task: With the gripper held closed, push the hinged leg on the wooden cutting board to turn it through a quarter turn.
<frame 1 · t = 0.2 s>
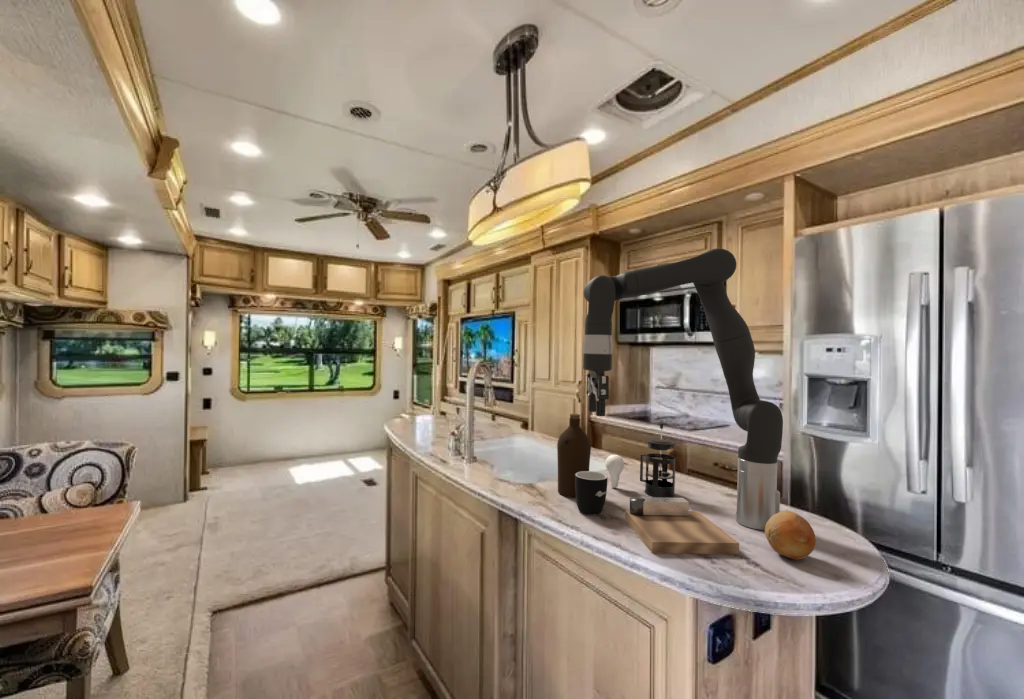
hand: (596, 413, 116), 28 cm above the counter, fingers open, 8 cm apart
hinged leg: (657, 506, 117), point 5 cm above the counter, hinge at 0.0°
wooden cutting board: (676, 535, 109), on the counter
onion: (788, 557, 99), on the counter
french press: (658, 494, 142), on the counter
olive oil: (572, 493, 140), on the counter
mug: (593, 510, 125), on the counter
lightbulb: (614, 488, 147), on the counter
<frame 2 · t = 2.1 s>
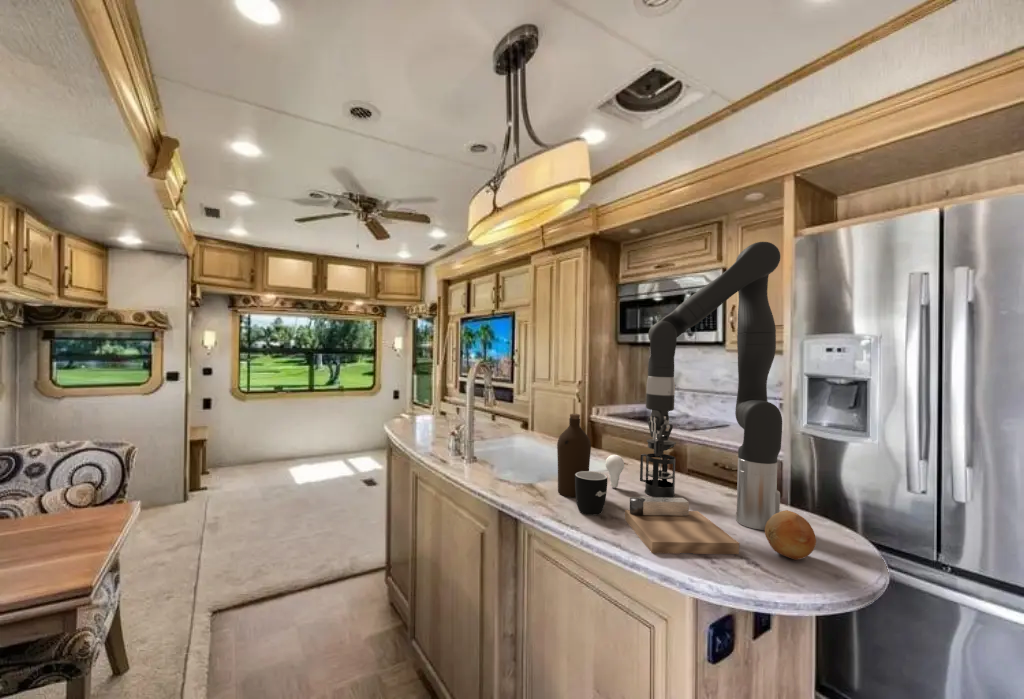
hand: (658, 454, 124), 17 cm above the counter, fingers closed
nothing on the counter moved.
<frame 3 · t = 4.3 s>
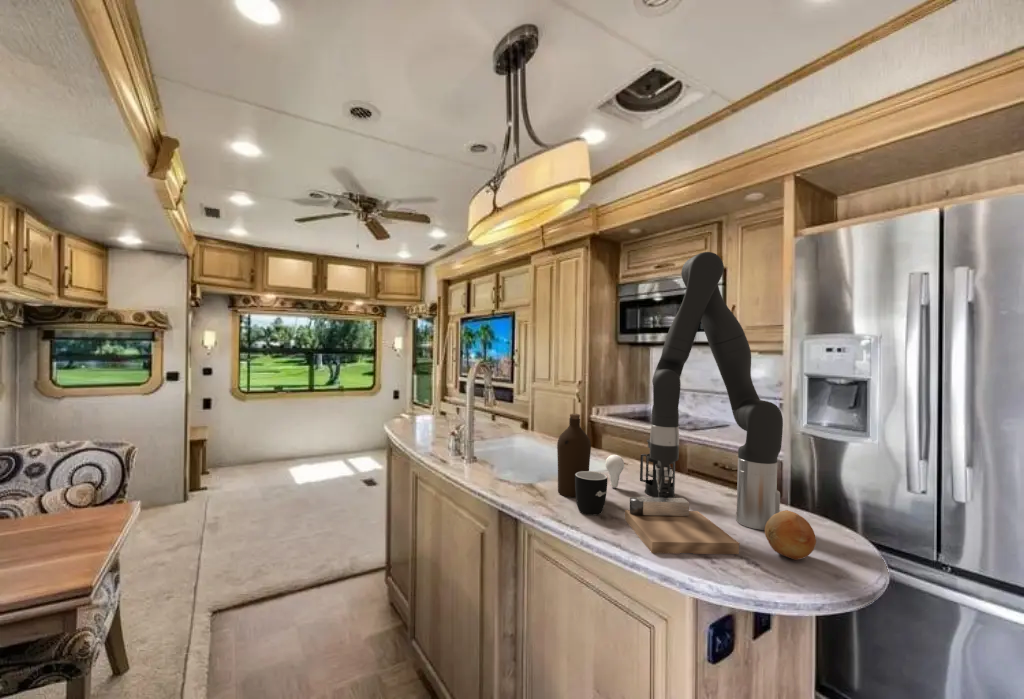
hand: (662, 505, 121), 4 cm above the counter, fingers closed
hinged leg: (658, 506, 116), point 5 cm above the counter, hinge at 1.0°, touching gripper
everything else where it was.
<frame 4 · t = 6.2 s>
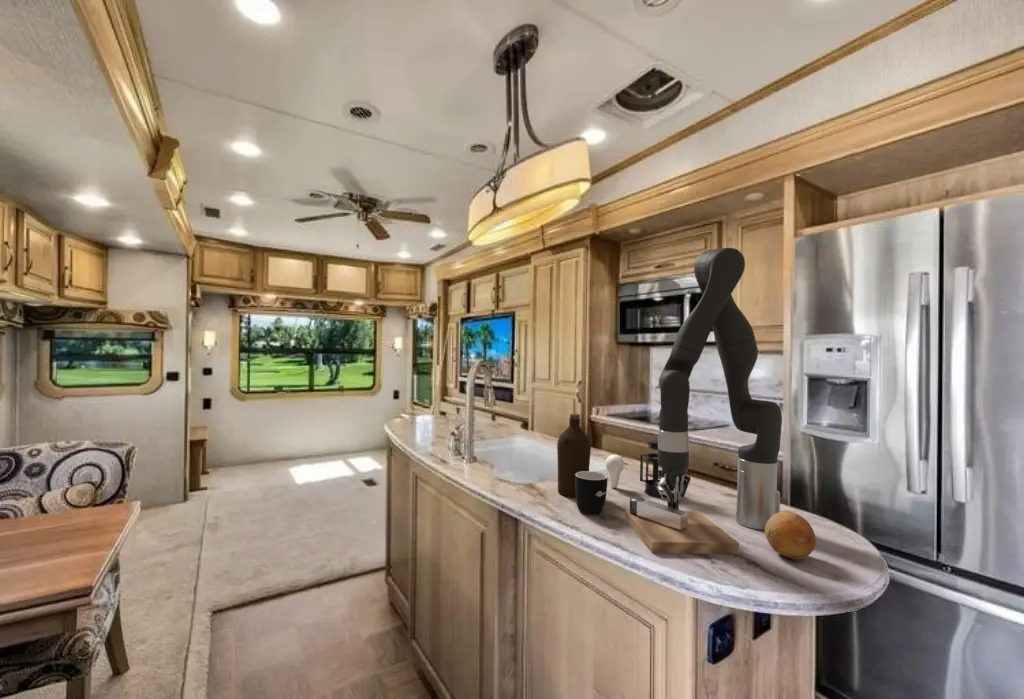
hand: (673, 515, 113), 4 cm above the counter, fingers closed
hinged leg: (656, 511, 112), point 5 cm above the counter, hinge at 52.0°, touching gripper
everything else where it was.
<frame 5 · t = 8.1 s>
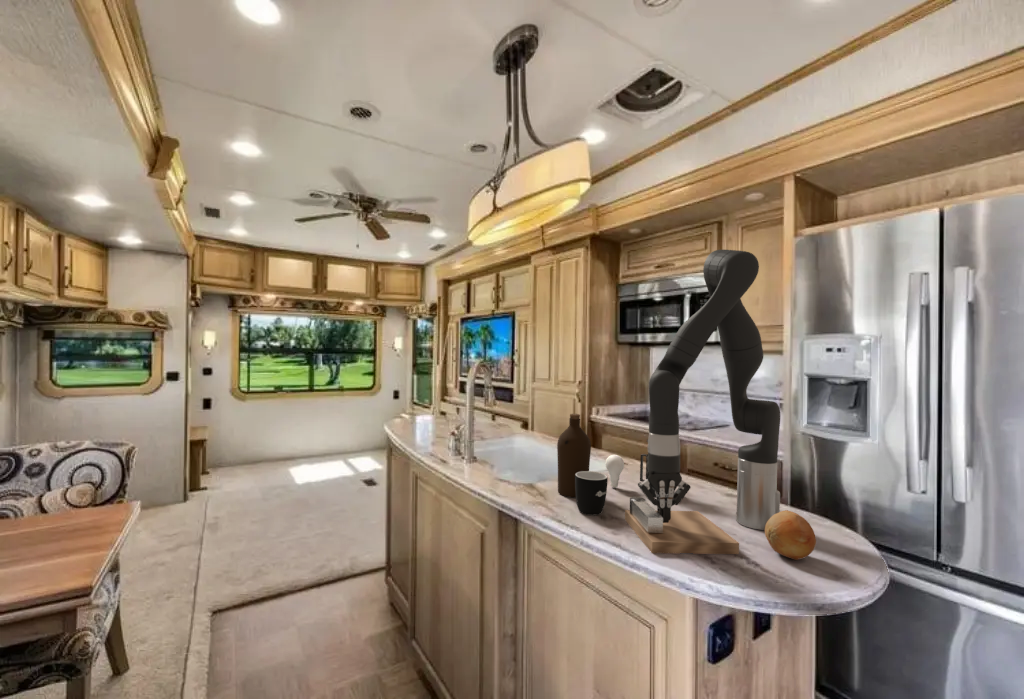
hand: (664, 521, 109), 3 cm above the counter, fingers closed
hinged leg: (644, 513, 111), point 5 cm above the counter, hinge at 90.4°, touching gripper
everything else where it was.
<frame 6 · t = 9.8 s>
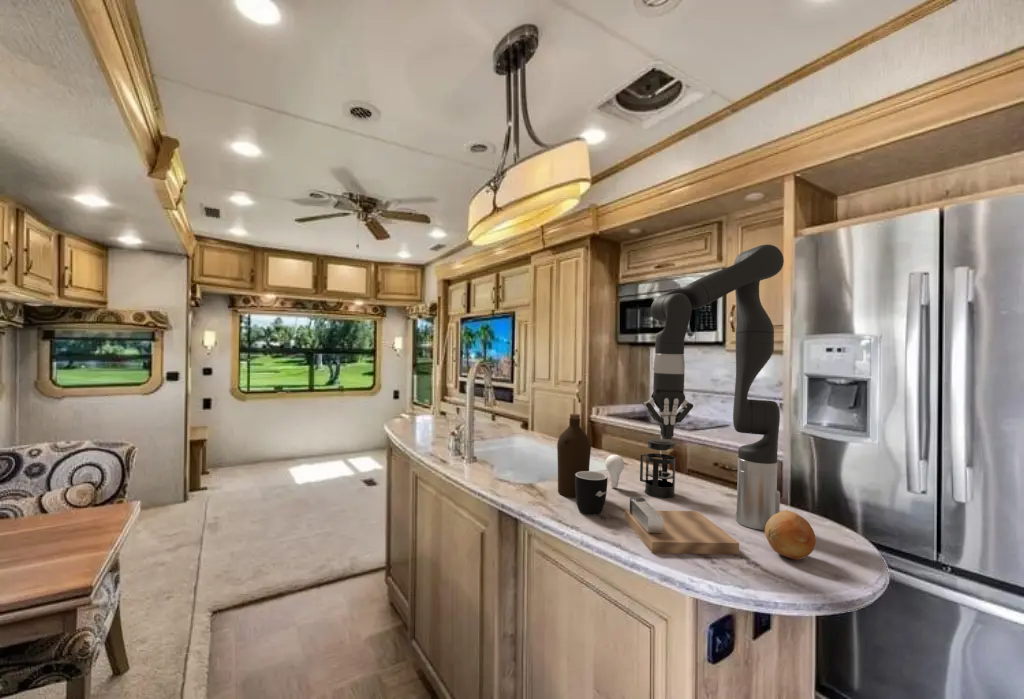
hand: (667, 438, 114), 23 cm above the counter, fingers closed
hinged leg: (644, 513, 111), point 5 cm above the counter, hinge at 90.4°
everything else where it was.
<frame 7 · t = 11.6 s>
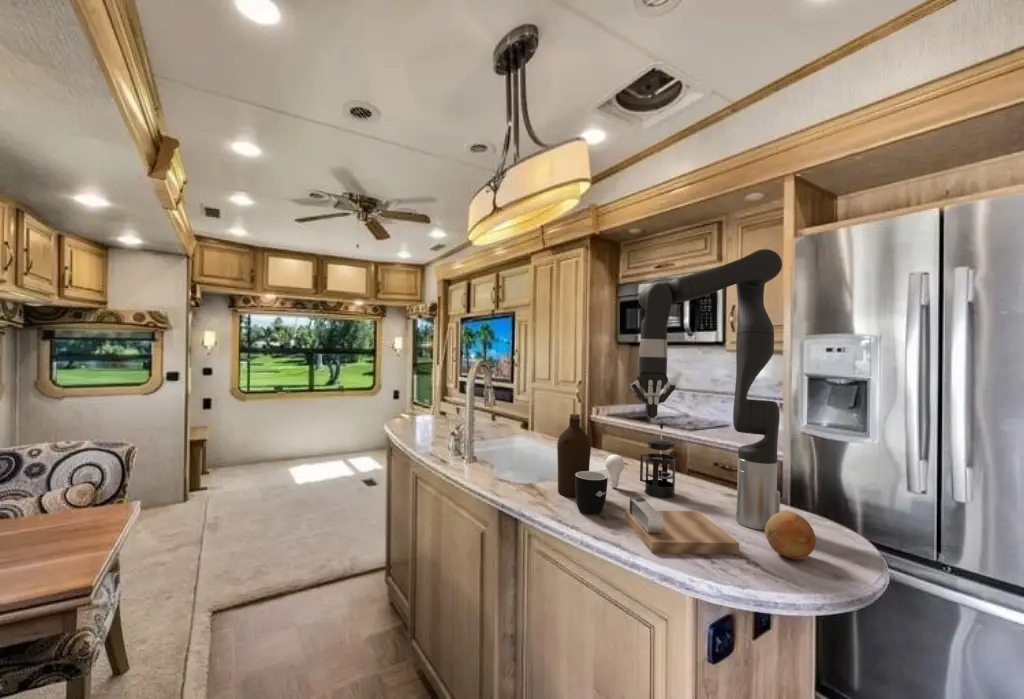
hand: (651, 417, 123), 27 cm above the counter, fingers closed
nothing on the counter moved.
at the end: hinged leg at +90° (first picture: +0°); mug moved 0.2 cm from its start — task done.
